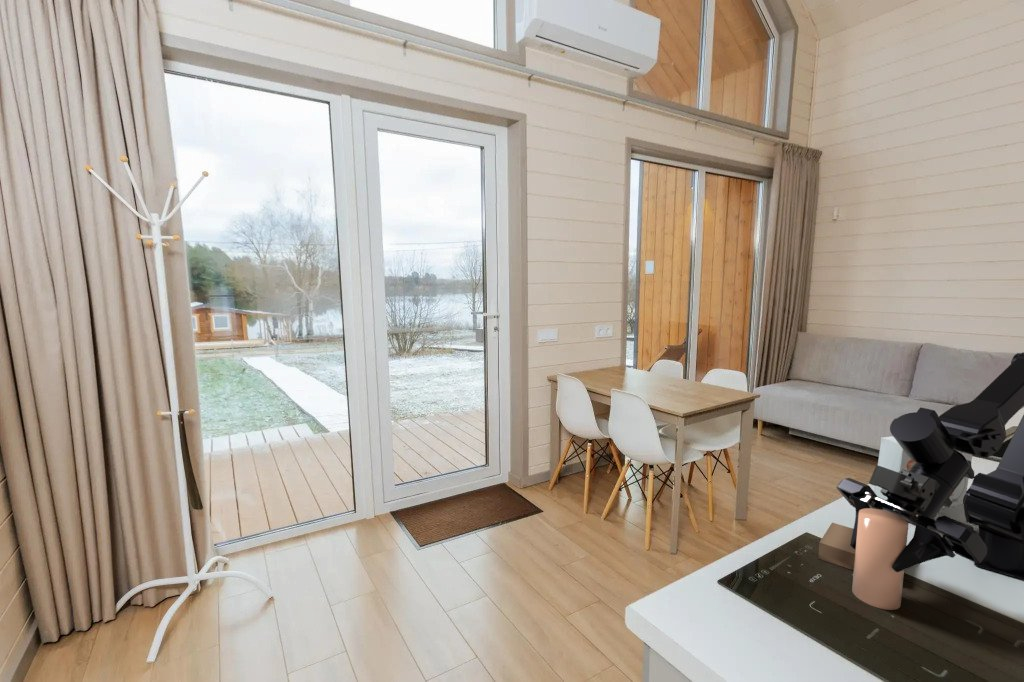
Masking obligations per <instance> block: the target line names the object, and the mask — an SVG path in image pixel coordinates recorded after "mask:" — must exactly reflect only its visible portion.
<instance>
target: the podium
mask: <svg viewBox="0 0 1024 682" xmlns="http://www.w3.org/2000/svg"><path fill="white" fill-rule="evenodd" d="M853 529H854V527H853V528H852V527H849V526H845V525H843V524H839V523H836V522H835V523H834V522H831V524H830V525H829V526H828V528H827V530H826V531H825V533H824V534H823V536H822V538H821V539H820V540H819V544H818V557H817V558H818V560H819V559H820V560H822V561H825V562H828V563H831V564H833V565H837V566H839V567H842V568H846V569H849V570H851V571H854V563H855V551H856V549H853V548H852V547H851V546H850V543H851V538H852V534H853Z"/></svg>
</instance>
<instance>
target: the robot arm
mask: <svg viewBox="0 0 1024 682" xmlns="http://www.w3.org/2000/svg"><path fill="white" fill-rule="evenodd" d="M1023 407H1024V352H1023V351H1022V352H1018V353H1016V354H1014V355H1013V356H1012V358H1011V362H1010V364H1009V365H1008V367H1006V368H1005V369H1004V370H1003V371H1002V372H1001V373H1000V374H998V376H997V377H996V378H995V379H993V381H992V382H991V383H990V384H988V385H987V386H986V387H985V388H984V389H983V390H982V391H981V392H980V393H979V394H978V395H977V396H976V397H975V398H974V399H973V400H971V401H970V402H967V403H963V404H958V405H955V406H954V405H953V406H952V407H950V408H949V409H947V410H946V411H944V412H942V414H940V415H939V414H938V413H937V411H936V410H934V409H931V408H926V407H919V408H918V410H917V411H916V412H909V413H904V414H902V415H900V416H898V417H897V418H894V419H893V420H892V421H891V423H890V426H889V431H890V434H891V435H892V436H893V437H894V438H895V439H896V441H897V442H898V443H899V445H900V446H901V447H902V449H903V450H904V451H905V453H906V454H907V455H908V457H909V458H910V459H912V460H913V461H915V463H914V464H913V466H912V467H911V468H910V470H909V471H907V470H904V469H902V470H900V471H899V472H896V471H893V470H890V469H887V468H884V467H881V466H878V464H876V465H875V468H874V469H873V471H872V474H871V477H870V480H869V481H868V484H869V485H868V484H866V483H863V482H861V481H859V480H856V479H855V478H854V479H853V478H852V477H847V478H846V477H845V478H843V479H842V480H840V482H839V483H838V484H837V486H836V489H837V491H838V492H839V493H840V494H841V495H842V496H843V497H844V498H845V501H847V502H848V504H849V505H850V506H851V507H853V508H854V509H855V520H854V525H853V534H852V538H851V543H850V546H851V547H852V548H853V549H856V539H857V527H858V515H859V510H861V509H865V508H873V509H880V510H885V511H888V512H892V513H894V514H897V515H899V516H901V517H903V518H905V519H906V520H907V521H908V523H909V524H910V525H912V526H914V533H913V536H912V538H911V540H910V541H909V543H907V545H906V547H905V549H904V550H903V551H902V552H901V554H900V555H899V556H898V557H897V559H896V560H895V562H894V564H893V566H892V569H893V570H894V571H896V572H900V571H902V570H904V571H905V570H907V569H910V568H912V567H915V566H917V565H920V564H922V563H925V562H927V561H928V562H929V561H932V560H935V559H939V558H942V557H949V558H952V559H953V558H955V557H956V555H958V556H960V557H962V558H965V559H966V560H969V561H971V562H973V565H974V566H976V567H978V568H981V569H986V570H989V571H992V572H995V573H999V574H1002V575H1005V576H1009V577H1013V578H1016V579H1020V580H1022V581H1024V414H1023V415H1022V417H1021V419H1020V421H1019V423H1018V425H1017V427H1016V429H1015V431H1014V433H1013V435H1012V437H1011V439H1010V440H1009V441H1010V442H1009V443H1008V445H1007V447H1006V449H1005V451H1004V453H1003V456H1002V457H1001V459H1000V461H999V463H998V465H997V467H996V469H995V470H992V471H991V472H989V473H987V474H985V473H982V472H979V473H977V474H975V470H974V469H973V467H972V460H971V461H969V460H966V458H965V457H964V456H963V455H962V454H961V453H960V452H964V453H967V454H971V455H972V456H974V457H979V458H985V459H986V458H990V457H992V456H993V455H994V454H995V453H997V452H998V451H999V450H1000V449H1001V448H1002V445H1003V443H1004V442H1005V440H1006V439H1007V432H1006V425H1007V423H1008V422H1009V421H1010V420H1011V419H1012V418H1013V417H1014V416H1015V415H1016V414H1017V413H1018V412H1019V411H1020V410H1021V409H1022V408H1023ZM956 450H957V451H956ZM958 451H960V452H958ZM964 477H967V478H969V479H970V480H972V483H971V485H970V486H969V488H967V491H966V494H965V495H964V498H963V505H962V506H963V510H964V511H963V512H964V516H965V521H966V523H965V522H962V521H959V520H957V519H954V518H951V517H950V516H947V515H941V516H938V517H937V518H936V520H935V517H936V516H937V514H938V513H939V512H940V510H942V509H943V508H942V506H946V507H947V508H948V509H949V508H951V507H950V505H951V504H952V501H951V500H950V498H949V497H950V496H951V494H952V493H953V491H954V490H955V489H956V487H957V486H958V485H959V483H960V482H961V481H962V479H963V478H964ZM870 485H871V486H874V487H875V486H878V487H881V488H882V489H881V490H880V492H881V493H882V494H883V495H884V496H886V497H887V498H888V499H887V500H885V499H882V498H880V497H878V496H877V495H876V494H875V493H874V490H873V489H872V488H871V486H870ZM893 509H894V510H893ZM967 523H968V524H967ZM969 524H972V525H973V526H976V527H978V528H977V529H975V528H974V527H973V526H972V525H969Z"/></svg>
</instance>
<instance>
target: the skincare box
mask: <svg viewBox="0 0 1024 682" xmlns="http://www.w3.org/2000/svg"><path fill="white" fill-rule="evenodd" d="M956 451H957V450H956ZM958 452H960V451H958ZM960 453H961V454H962V455H963V456H964V457H965V458H966V460H969V461H971V462H972V459H973V455H971V454H967V453H964V452H960ZM914 463H915V461H913V460H912V459H910V458H909V457H908V455H907V454H906V453H905V451H904V450H903V449H902V447H901V446H900V445H899V443H898V442H897V441H896V439H895V438H894V437H893V435H892V436H885V437H884V436H883V437H882V436H881V438H880V445H879V453H878V460H877V465H878V466H881V467H884V468H887V469H890V470H893V471H896V472H899V471H900V470H902V469H904V470H907V471H909V470H910V468H911V467H912V466H913V464H914ZM969 479H970V478H967V477H964V478H963V479H962V481H961V482H960V483H959V485H958V486H957V487H956V489H955V490H954V491H953V493H952V494H951V496H950V497H949V498H950V500H951V501H952V504H951V505H950V507H949V508H953V507H958V506H964V505H963V498H964V495H965V494H966V491H967V490H968V484H969ZM881 489H882V488H881V487H878V486H874V490H873V491H874V493H875V494H876V495H877V496H878V497H880V498H882V499H885V500H887V499H888V498H887V497H886V496H884V495H883V494H882V493H881V492H880V490H881ZM945 508H948V507H946V506H942V508H941V509H945ZM893 510H894V509H893Z"/></svg>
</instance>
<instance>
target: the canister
mask: <svg viewBox="0 0 1024 682" xmlns="http://www.w3.org/2000/svg"><path fill="white" fill-rule="evenodd" d="M909 524H910V523H908V521H907V520H906V519H905V518H903V517H901V516H899V515H897V514H894V513H892V512H888V511H885V510H880V509H873V508H865V509H861V510H859V515H858V527H857V539H856V551H855V563H854V570H853V574H852V575H853V576H852V587H851V589H852V590H851V591H852V594H853V595H854V596H855V597H856V598H857V599H859V600H860V601H862V602H863V603H865V604H867V605H869V606H870V607H871V606H872V607H874V608H876V609H877V608H878V609H881V610H885V611H887V610H888V611H893V610H894V611H896V610H898V609H899V608H901V605H902V604H901V603H902V596H903V595H902V594H903V583H904V575H905V570H902V571H900V572H896V571H894V570H893V569H892V566H893V564H894V562H895V560H896V559H897V557H898V556H899V555H900V554H901V552H902V551H903V550H904V549H905V547H906V546H907V545H908V543H907V542H908V534H909V533H908V531H909Z"/></svg>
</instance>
